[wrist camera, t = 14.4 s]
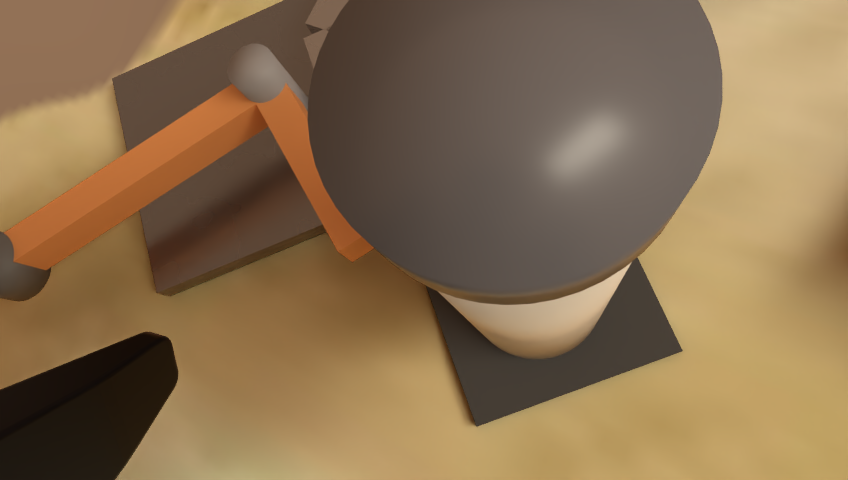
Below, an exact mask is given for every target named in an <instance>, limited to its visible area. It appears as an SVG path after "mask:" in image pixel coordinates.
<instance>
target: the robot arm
mask: <svg viewBox="0 0 848 480" xmlns="http://www.w3.org/2000/svg"><path fill="white" fill-rule="evenodd" d="M177 380H178V368H177V364H176V360H175V355H174V351H173V346H172V343H171V341H170V340H169V338H167V337H166V336H162V335H159V334H155V333H152V332H143V333H140V334H138V335H135V336H133V337H130V338H128V339H125V340H123V341H120V342H118V343H115V344H113V345H110V346H108V347H105V348H103V349H100V350H98V351H95V352H93V353H90V354H88V355H85V356H83V357H80V358H78V359H76V360H73V361H71V362H68V363H66V364H63V365H61V366H58V367H56V368H53V369H51V370H48V371H46V372H43V373H41V374H38V375H36V376H33V377H31V378H28V379H26V380H23V381H21V382H18V383H16V384H13V385H11V386H8V387H6V388H4V389H1V390H0V480H115V479H116V478H117V476H118V475H119V473H120V472H121V471H122V469H123V468H124V467H125V465H126V464H127V462H128V461H129V459H130V458H131V456H132V455H133V453H134V452H135V450H136V448H137V447H138V445H139V444H140V442H141V440H142V439H143V437H144V436H145V434H146V432H147V431H148V429H149V428H150V426H151V424H152V423H153V421H154V420H155V418H156V417H157V415H158V413H159V412H160V410H161V409H162V407H163V405H164V404H165V402H166V401H167V399H168V397H169V396H170V394H171V393H172V391H173V389H174V388H175V386H176V383H177Z"/></svg>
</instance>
